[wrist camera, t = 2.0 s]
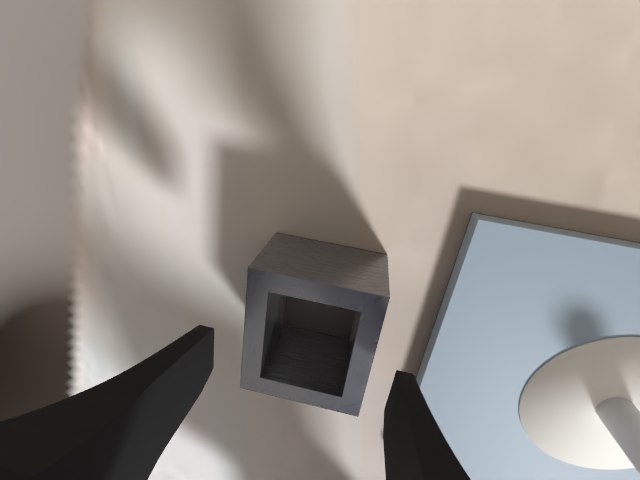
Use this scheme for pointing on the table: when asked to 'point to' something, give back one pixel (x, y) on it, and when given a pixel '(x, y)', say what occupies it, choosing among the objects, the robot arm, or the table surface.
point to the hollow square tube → (306, 346)
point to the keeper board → (538, 354)
